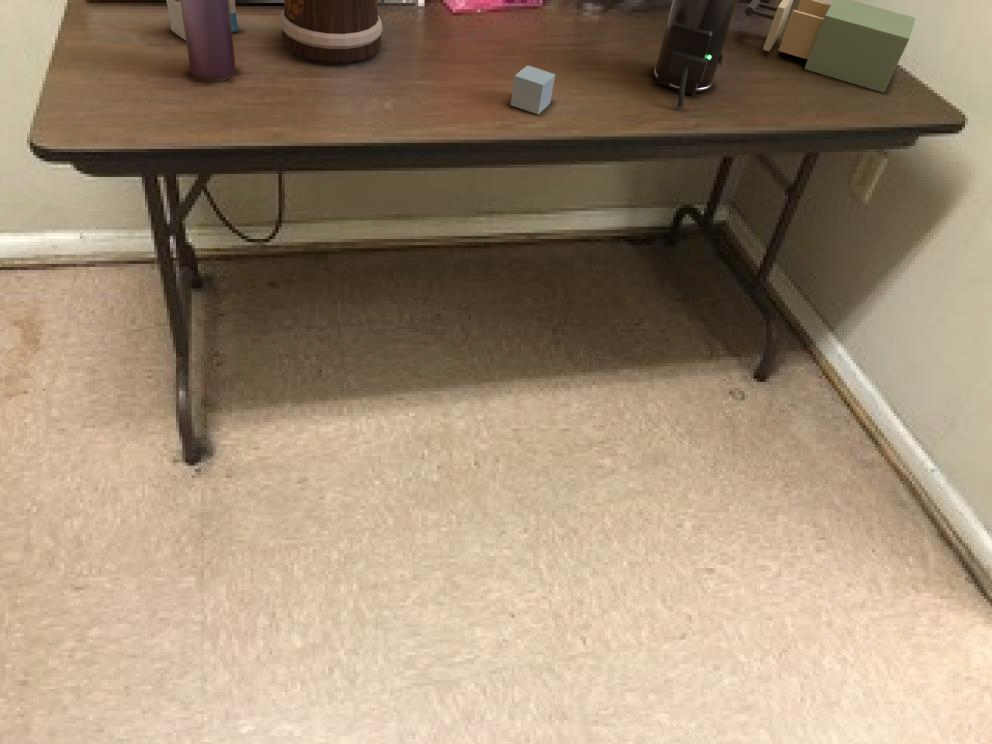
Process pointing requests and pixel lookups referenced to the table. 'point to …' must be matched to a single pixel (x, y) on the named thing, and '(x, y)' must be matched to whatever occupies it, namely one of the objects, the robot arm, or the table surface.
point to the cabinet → (860, 44)
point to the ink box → (177, 17)
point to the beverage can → (209, 39)
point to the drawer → (793, 25)
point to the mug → (331, 29)
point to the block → (532, 89)
